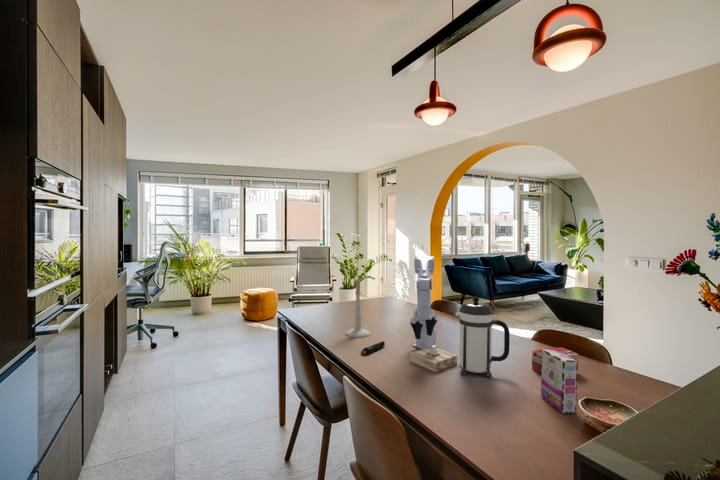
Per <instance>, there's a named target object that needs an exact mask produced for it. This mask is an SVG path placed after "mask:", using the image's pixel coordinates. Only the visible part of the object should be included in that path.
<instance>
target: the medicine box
mask: <svg viewBox="0 0 720 480" xmlns="http://www.w3.org/2000/svg"><path fill="white" fill-rule="evenodd" d="M543 349H544V348H543ZM543 349H534V350H532V353H531V354H532V355H531V368H532V369H531V370H533V371H535V370H536V371H535V372H537V371H538V372H537V373H540V374H542V350H543ZM549 349H555V350H557V351H559V352H561V353H563V354H565V355H567V356H569V357H571V358H573V359H575V360H577V361H578V362H579V354H578V353H576V352H573V350H572V351H571V350H569V349H567V348H564V347H550V348H549ZM578 369H579V367H578V368H577V372H579V371H578Z"/></svg>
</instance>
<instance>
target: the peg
mask: <svg viewBox="0 0 720 480" xmlns="http://www.w3.org/2000/svg"><path fill="white" fill-rule="evenodd" d="M436 345H437V344H436ZM436 345H429V355H430V356H433V357H436V356H437V348H438V345H437V346H436Z"/></svg>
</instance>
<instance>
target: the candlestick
mask: <svg viewBox="0 0 720 480" xmlns="http://www.w3.org/2000/svg"><path fill="white" fill-rule="evenodd" d="M355 284H356V287H355V290H356V291H354V293H355V296H356V298H355V301H356V302H355V314H354V315H355V316H354V328H350V329H348V330H347V331H346V332H345V335H346V336H347V337H350V338H354V339H355V338H357V339H358V338H359V339H361V338H367V337H369V336H370V334H371V333H370V331H369V330H368V329H365V328H362V320H361V319H362V313H361V293H362V291H361V280H360V279H359V278H358V279H356V281H355Z"/></svg>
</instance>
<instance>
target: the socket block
mask: <svg viewBox="0 0 720 480" xmlns="http://www.w3.org/2000/svg"><path fill="white" fill-rule="evenodd" d="M409 362H411V363H413V364H416V365H418V366H421V367H423V368H426V369H427V370H431V371H433V372H435V373H436V372H439V371H441V370H444V369H446V368H448V367H451V366H454V365H457V364H458V355H457V354H454V353H452V352H448V351H447V350H443V349H441V348H438V347H437V356H436V357H433V356H430V355H429V347H428V348H425V349H417V350H416V351H412V352H409Z"/></svg>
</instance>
